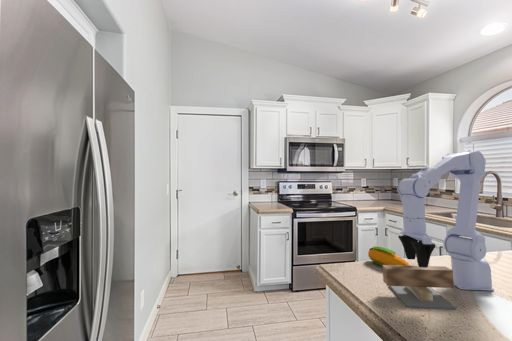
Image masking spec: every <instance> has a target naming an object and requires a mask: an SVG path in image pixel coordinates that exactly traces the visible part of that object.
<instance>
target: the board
mask: <svg viewBox="0 0 512 341" xmlns="http://www.w3.org/2000/svg"><path fill="white" fill-rule="evenodd" d="M388 287H389V289H391V290H392V291H393V293H394V294H395V295H396V296H397V297H398V298H399V299H400V301H402V303H404V305H405V306H406V307H407V308H422V309H423V308H424V309H425V308H426V309H443V310H444V309H445V310H446V309H447V310H448V309H450V310H456V309H457V308H456V305H455V304H454V303H452V302H451V301H450V300H448V299H447V298H446V297H444V296H443V295H442V294H440V293H439V292H438V291H436V290H435V289H434V288H433V287H427V288H428V289H429V290H431V291H432V293H433V302H427V301H421V300H420V299H418V298H417V297H416V296H415V295H414V294H413V293H412V292H411V291H410V290H409V289H408V288H407V287H406V286H388Z"/></svg>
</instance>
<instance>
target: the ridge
mask: <svg viewBox="0 0 512 341" xmlns="http://www.w3.org/2000/svg"><path fill="white" fill-rule="evenodd" d="M406 287H407V288H408V289H409V290H410V291H411V292H412V293H413V294H414V295H415V296H416V297H417V298H418V299H420V300H421V301H427V302H433V293H432V291H431V290H429V289H428V288H427V287H409V286H406Z"/></svg>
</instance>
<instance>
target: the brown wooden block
mask: <svg viewBox="0 0 512 341" xmlns="http://www.w3.org/2000/svg"><path fill="white" fill-rule="evenodd" d="M382 280H383V282H384V284H385V285H386V286H388V287H389V286H409V287H431V288H440V289H441V288H442V289H444V288H446V289H454V288H455V285H454V281H453V270H452V268H450V267H447V266H440V265H437V266H436V265H434V266H433V265H428V267H427V268H424V267H419V266H418V265H410V266H405V265H383V266H382Z"/></svg>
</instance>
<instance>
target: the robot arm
mask: <svg viewBox="0 0 512 341" xmlns="http://www.w3.org/2000/svg"><path fill="white" fill-rule="evenodd" d="M486 161H487V160H486V158H485V156H484V154H483V153H482V152H481V151H479V150H472V151H465V152H458V153H457V152H456V153H447V154H445V155H443V156H442V157H441V160H440V161H438V162H437V163H436V164H435V165H433V166H432V167H431V166H423V167H421V168H420V171H418V172H416V173H413V174H411V176H410V177H409V178H402V179H401V181H399V183H398V185H397V187H396V191H397V193H398V195H399V196H400V202H401V203H402V217H403V218H402V219H403V227H401V230H400V232H399V234H400V235H398V240H400V243H401V245H402V246H403V250H404V254H405V257H406V259H407V260H416V261H417V266H419V267H424V268H427V267H428V266H429V264H430V263H429V262H430V260H431V255H432V253H433V251H434V249H436V244H435V243H433V241H432V237H431V236H430V235H429V234H428V232H427V224H426V223H427V221H426V207H425V197H427V196H428V194H429V191H430V189H431V188H433V186H435V185H436V184H438V183H439V182H440V181H441V179H442V176H443V175H445V174H446V173H449V175H451V176H452V177H453V178H454V179H457V180H459V182H460V183H459V192H458V199H457V200H458V201H457V209H456V216H455V223H454V224H455V226H453V227H452V228H449V229H447V231H446V235H445V237H444V240H443V244H442V245H443V248H444V251H445V252H446V253H448V256H449V257H450V262H451V270H453V281H454V287H457V288H458V289H460V290H465V291H466V290H468V291H470V290H471V291H495V288H493V282H492V280H493V279H492V269H491V266H490V264H489V262H488V261H487V260H486V259H484V258H485V257H486V254H487V246H486V237H485V236H484V235H482V233H481V232H480V231H478V230H476V224H477V219H478V218H477V217H478V210H479V209H478V208H479V198H480V189H481V181H482V180H481V179H483V178H484V177H485V171H486V165H487V164H486V163H487V162H486Z"/></svg>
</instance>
